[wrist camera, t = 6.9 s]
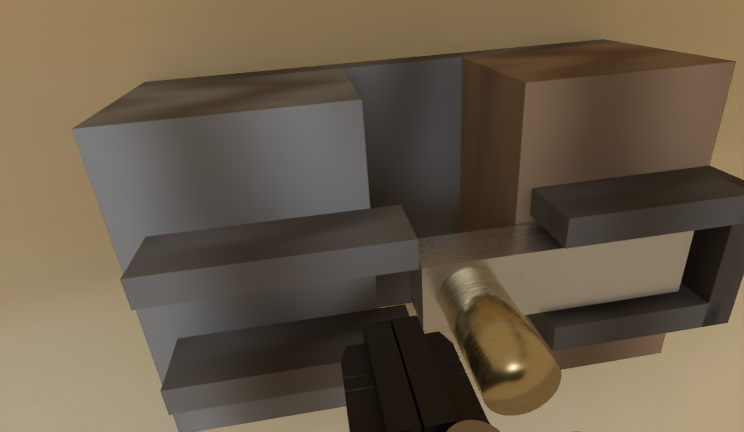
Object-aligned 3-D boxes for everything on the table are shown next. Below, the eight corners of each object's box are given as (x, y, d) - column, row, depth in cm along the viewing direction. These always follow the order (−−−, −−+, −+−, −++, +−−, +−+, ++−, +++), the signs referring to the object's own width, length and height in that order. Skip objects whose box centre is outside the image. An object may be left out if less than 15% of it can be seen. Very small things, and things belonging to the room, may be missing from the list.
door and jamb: (603, 39, 22) (809, 73, 13) (572, 265, 27) (703, 395, 18) (144, 82, 19) (28, 156, 11) (208, 318, 25) (164, 493, 16)
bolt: (656, 206, 17) (812, 300, 12) (644, 264, 18) (782, 373, 13) (408, 240, 16) (463, 357, 11) (411, 298, 17) (462, 430, 12)
